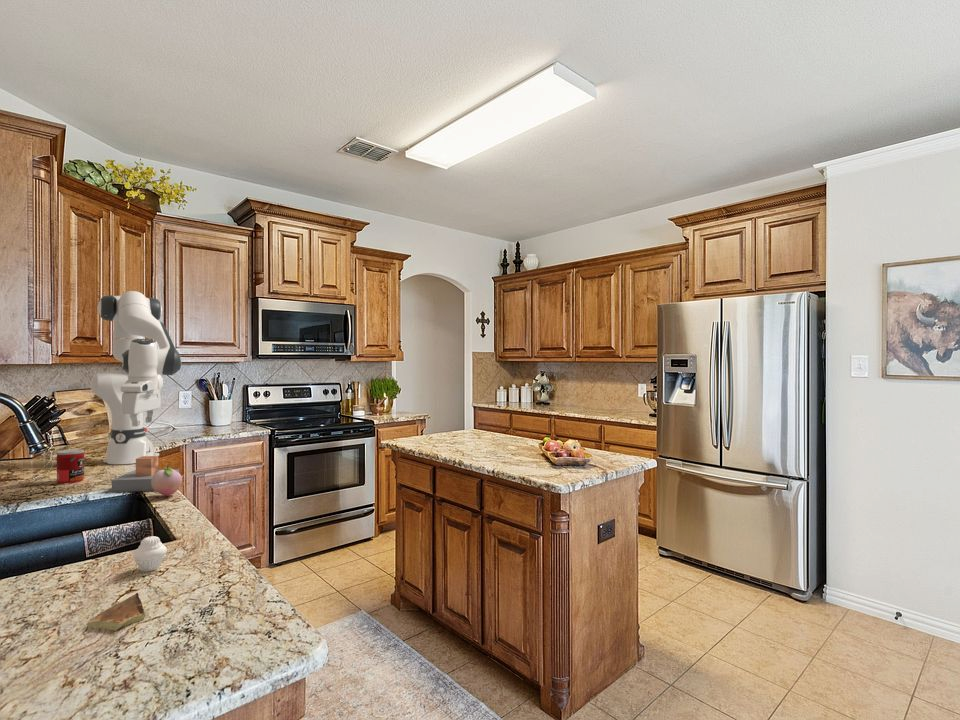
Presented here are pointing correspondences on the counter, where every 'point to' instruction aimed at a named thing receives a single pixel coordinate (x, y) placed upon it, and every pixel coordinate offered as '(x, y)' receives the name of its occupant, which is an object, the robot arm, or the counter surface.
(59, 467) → the canned food
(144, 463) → the terracotta block
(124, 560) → the counter surface
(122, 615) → the shard
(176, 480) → the decorative fruit
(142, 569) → the muffin
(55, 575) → the counter surface
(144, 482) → the base slab
